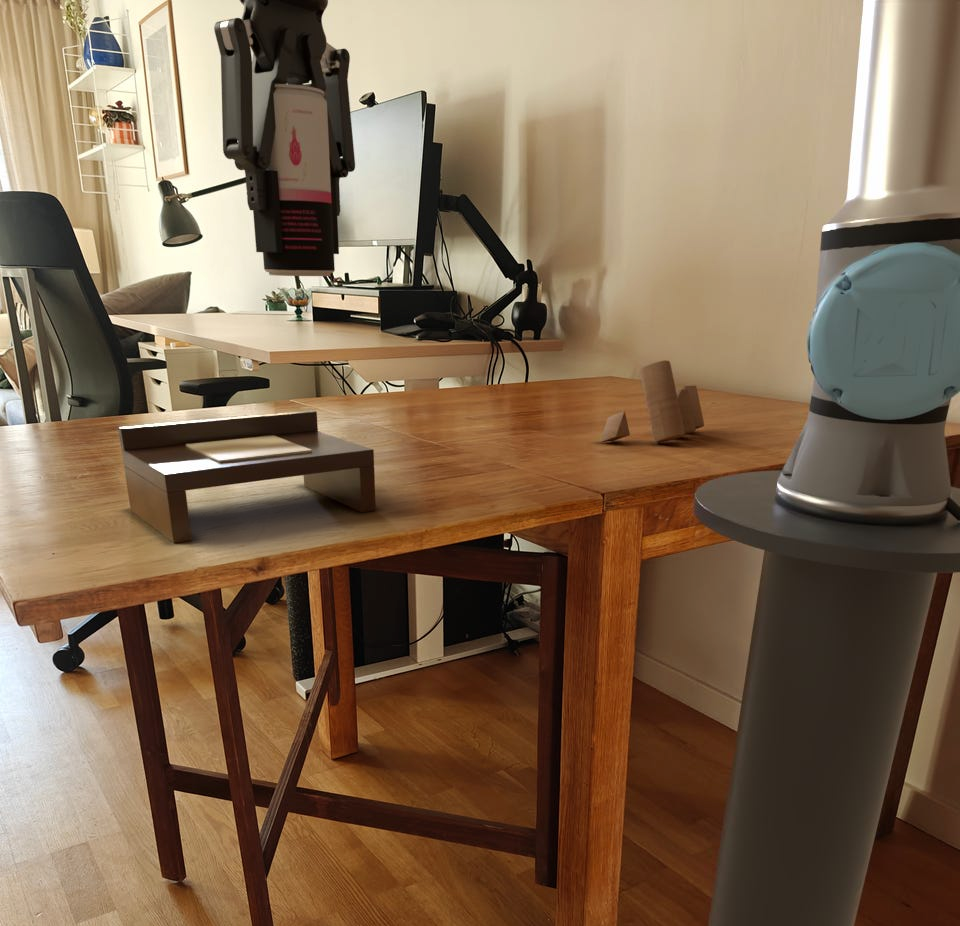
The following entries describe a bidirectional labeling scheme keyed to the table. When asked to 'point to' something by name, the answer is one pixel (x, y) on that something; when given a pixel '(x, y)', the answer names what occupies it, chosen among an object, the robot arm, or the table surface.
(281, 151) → the beverage can
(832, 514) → the robot arm
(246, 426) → the shelf
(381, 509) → the table surface
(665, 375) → the wooden block set
